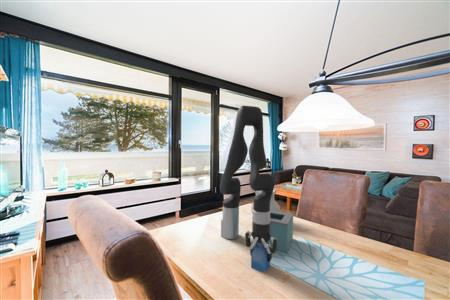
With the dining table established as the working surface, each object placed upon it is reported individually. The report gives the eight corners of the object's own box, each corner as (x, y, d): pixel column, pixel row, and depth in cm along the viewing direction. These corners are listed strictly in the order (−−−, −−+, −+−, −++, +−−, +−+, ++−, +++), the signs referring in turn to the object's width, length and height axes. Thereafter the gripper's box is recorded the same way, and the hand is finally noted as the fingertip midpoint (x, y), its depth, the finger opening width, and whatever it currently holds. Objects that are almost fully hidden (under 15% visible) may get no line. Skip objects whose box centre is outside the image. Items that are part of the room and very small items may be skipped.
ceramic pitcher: (243, 220, 145) (241, 185, 143) (262, 212, 156) (261, 180, 154) (267, 231, 128) (265, 191, 125) (286, 221, 139) (285, 185, 137)
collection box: (254, 244, 108) (254, 218, 107) (263, 232, 122) (264, 209, 122) (287, 252, 100) (287, 224, 100) (292, 238, 115) (293, 213, 114)
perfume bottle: (269, 264, 90) (270, 237, 90) (265, 272, 85) (265, 243, 84) (256, 260, 93) (257, 234, 93) (251, 267, 88) (251, 239, 87)
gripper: (280, 220, 88) (279, 258, 89) (248, 214, 95) (248, 250, 95) (276, 226, 82) (275, 268, 82) (242, 220, 88) (241, 258, 89)
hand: (260, 258), depth 89 cm, fingers closed on perfume bottle, 6 cm apart
